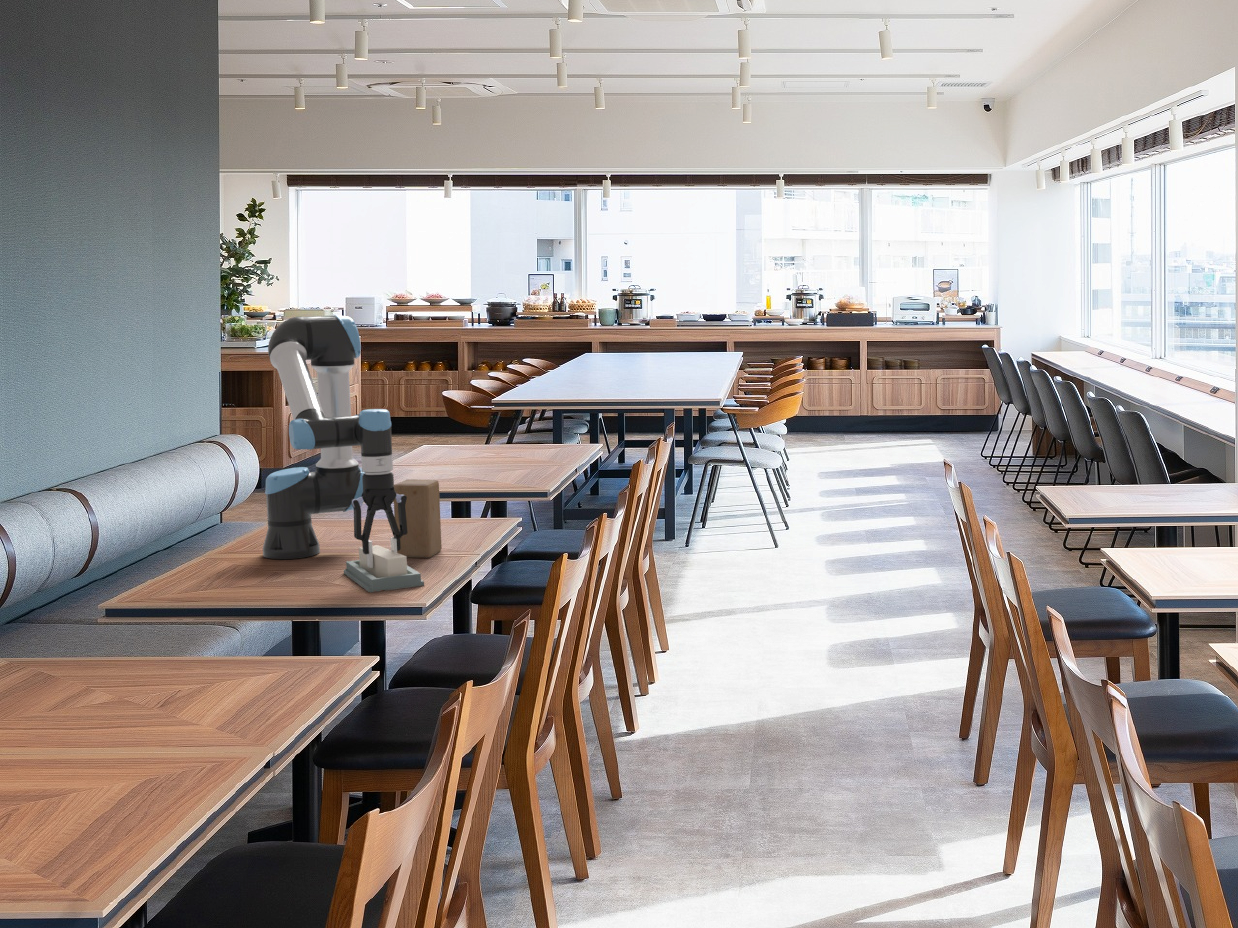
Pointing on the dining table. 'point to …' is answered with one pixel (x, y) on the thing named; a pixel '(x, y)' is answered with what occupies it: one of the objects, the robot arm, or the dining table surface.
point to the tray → (381, 583)
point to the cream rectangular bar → (384, 562)
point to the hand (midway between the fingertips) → (382, 565)
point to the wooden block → (420, 518)
